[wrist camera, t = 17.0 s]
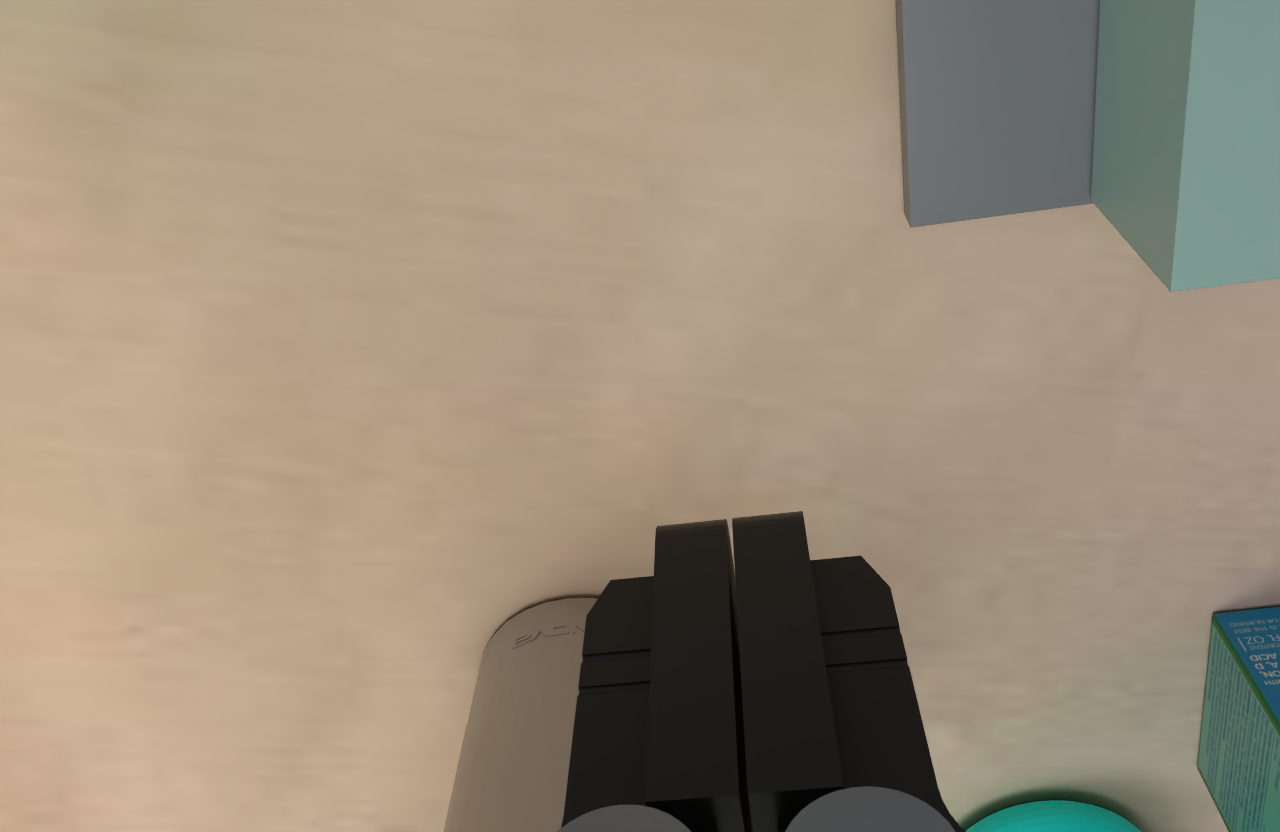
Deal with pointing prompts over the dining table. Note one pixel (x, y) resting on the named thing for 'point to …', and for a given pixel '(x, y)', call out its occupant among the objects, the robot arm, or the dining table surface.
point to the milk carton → (1243, 720)
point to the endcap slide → (1191, 136)
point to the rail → (996, 106)
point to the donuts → (1053, 819)
